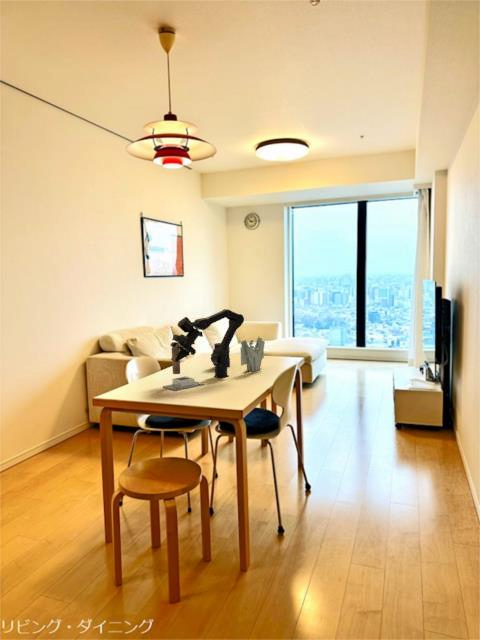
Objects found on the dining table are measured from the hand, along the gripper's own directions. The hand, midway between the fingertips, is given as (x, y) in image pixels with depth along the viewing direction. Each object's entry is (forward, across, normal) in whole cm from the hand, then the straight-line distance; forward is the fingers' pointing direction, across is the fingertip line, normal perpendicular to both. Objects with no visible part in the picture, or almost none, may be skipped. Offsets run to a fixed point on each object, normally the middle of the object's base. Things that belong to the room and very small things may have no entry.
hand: (173, 360), depth 237 cm
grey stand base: (+8, +5, +11) cm, 14 cm away
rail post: (+4, 0, +6) cm, 7 cm away
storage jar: (-24, -24, +44) cm, 55 cm away
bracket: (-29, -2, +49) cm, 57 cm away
